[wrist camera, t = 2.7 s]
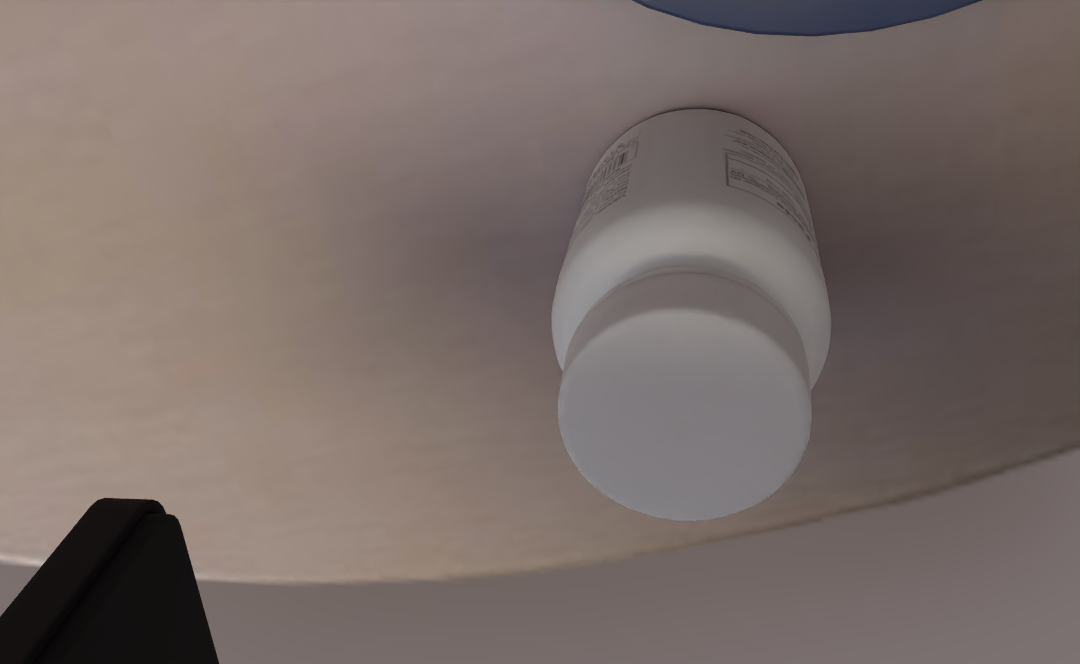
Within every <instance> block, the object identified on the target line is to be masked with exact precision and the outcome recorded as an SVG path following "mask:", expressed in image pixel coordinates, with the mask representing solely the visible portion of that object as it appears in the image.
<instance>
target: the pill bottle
mask: <svg viewBox="0 0 1080 664" xmlns="http://www.w3.org/2000/svg"><path fill="white" fill-rule="evenodd" d="M551 323H552V337H553V343H554V348H555V352H556V356H557V359H558V362H559V365H560V367H561V369H562V372H563V375H562V380H561V385H560V391H559V396H558V422H559V427H560V432H561V436H562V439H563V442H564V445H565V448H566V450H567V452H568V454H569V456H570V458H571V459H572V461H573V462H574V464H575V465H576V467H577V468H578V470H579V471H580V472H581V474H582V475H583V476H584V477H585V478H586V479H587V480H588V482H589V483H590V484H592V485H593V486H594V487H595V488H597V489H598V490H599V491H600V492H602V493H603V494H605V495H606V496H607V497H609V498H610V499H612V500H613V501H615V502H617V503H619V504H621V505H623V506H625V507H627V508H629V509H631V510H633V511H636V512H641V513H644V514H646V515H649V516H653V517H658V518H664V519H669V520H675V521H692V520H696V521H701V520H710V519H716V518H721V517H725V516H729V515H732V514H735V513H737V512H740V511H743V510H745V509H748V508H750V507H752V506H754V505H756V504H758V503H760V502H762V501H763V500H765V499H766V498H768V497H769V496H770V495H772V494H773V493H774V492H776V491H777V490H778V489H779V488H780V487H781V486H782V485H783V484H784V483H785V482H786V481H787V480H788V479H789V478H790V476H791V475H792V474H793V472H794V471H795V469H796V468H797V467H798V465H799V463H800V461H801V459H802V457H803V455H804V453H805V450H806V447H807V445H808V442H809V438H810V433H811V428H812V399H811V390H812V389H813V387H814V386H815V384H816V382H817V380H818V378H819V376H820V374H821V372H822V369H823V367H824V364H825V361H826V357H827V354H828V350H829V346H830V336H831V313H830V306H829V298H828V293H827V288H826V282H825V278H824V275H823V271H822V267H821V261H820V256H819V251H818V246H817V242H816V237H815V232H814V227H813V222H812V217H811V213H810V208H809V204H808V200H807V196H806V192H805V188H804V185H803V182H802V179H801V177H800V174H799V172H798V170H797V168H796V166H795V164H794V162H793V161H792V159H791V158H790V156H789V155H788V153H787V152H786V151H785V149H784V148H783V147H782V146H781V145H780V144H779V143H778V142H777V141H776V140H775V139H774V138H773V137H772V136H771V135H770V134H768V133H767V132H766V131H764V130H763V129H761V128H760V127H759V126H757V125H755V124H754V123H752V122H750V121H748V120H746V119H744V118H742V117H740V116H737V115H733V114H730V113H726V112H721V111H717V110H708V109H686V110H679V111H673V112H668V113H664V114H660V115H657V116H655V117H652V118H650V119H647V120H645V121H643V122H641V123H639V124H637V125H636V126H634V127H633V128H631V129H630V130H628V131H627V132H626V133H625V134H623V135H622V136H621V137H620V138H619V139H618V140H616V141H615V142H614V143H613V144H612V145H611V147H610V148H609V149H608V150H607V151H606V152H605V153H604V155H603V156H602V158H601V159H600V161H599V162H598V164H597V166H596V167H595V169H594V171H593V173H592V175H591V177H590V180H589V182H588V186H587V189H586V192H585V195H584V198H583V201H582V205H581V208H580V212H579V215H578V218H577V222H576V225H575V228H574V231H573V234H572V237H571V240H570V244H569V247H568V250H567V253H566V257H565V260H564V263H563V266H562V269H561V272H560V275H559V279H558V283H557V288H556V292H555V296H554V301H553V307H552V321H551Z"/></svg>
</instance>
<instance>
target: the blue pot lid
mask: <svg viewBox="0 0 1080 664" xmlns="http://www.w3.org/2000/svg"><path fill="white" fill-rule="evenodd" d="M632 1H634V2H636V3H639V4H641V5H643V6H645V7H647V8H650V9H653V10H656V11H659V12H663V13H666V14H669V15H672V16H675V17H678V18H682V19H685V20H688V21H691V22H694V23H697V24H701V25H706V26H712V27H718V28H723V29H729V30H735V31H741V32H747V33H752V34H765V35H791V36H823V35H834V34H845V33H856V32H867V31H875V30H879V29H884V28H888V27H893V26H897V25H902V24H906V23H911V22H916V21H920V20H925V19H929V18H933V17H936V16H939V15H942V14H945V13H948V12H950V11H953V10H956V9H959V8H962V7H965V6H968V5H971V4H973V3H976V2H979V1H982V0H632Z"/></svg>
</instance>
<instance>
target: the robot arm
mask: <svg viewBox="0 0 1080 664" xmlns="http://www.w3.org/2000/svg"><path fill="white" fill-rule="evenodd" d="M0 664H219V662H218V658H217V654H216V651H215V647H214V644H213V640H212V636H211V633H210V629H209V626H208V622H207V619H206V615H205V611H204V608H203V604H202V601H201V597H200V593H199V590H198V586H197V583H196V579H195V575H194V572H193V568H192V565H191V561H190V558H189V554H188V550H187V547H186V543H185V540H184V536H183V533H182V529H181V526H180V523H179V521H178V519H177V518H176V517H175V516H174V515H170V514H166V512H165V510H164V508H163V506H162V505H161V504H160V503H159V502H158V501H155V500H147V499H118V498H103V499H100V500H97V501H96V502H95V503H94V504H93V505H92V506H91V507H90V508H89V509H88V510H87V512H86V513H85V514H84V515H83V516H82V518H81V519H80V520H79V521H78V523H77V524H76V525H75V526H74V527H73V529H72V530H71V531H70V532H69V533H68V535H67V536H66V537H65V538H64V540H63V541H62V542H61V543H60V544H59V546H58V547H57V548H56V549H55V551H54V552H53V553H52V554H51V555H50V557H49V558H48V559H47V560H46V562H45V563H44V564H43V565H42V566H41V568H40V569H39V570H38V571H37V573H36V574H35V575H34V576H33V577H32V579H31V580H30V581H29V582H28V584H27V585H26V586H25V587H24V589H23V590H22V591H21V592H20V593H19V595H18V596H17V597H16V598H15V599H14V601H13V602H12V603H11V604H10V606H9V607H8V608H7V609H6V611H5V612H4V613H3V614H2V615H1V617H0Z"/></svg>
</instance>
